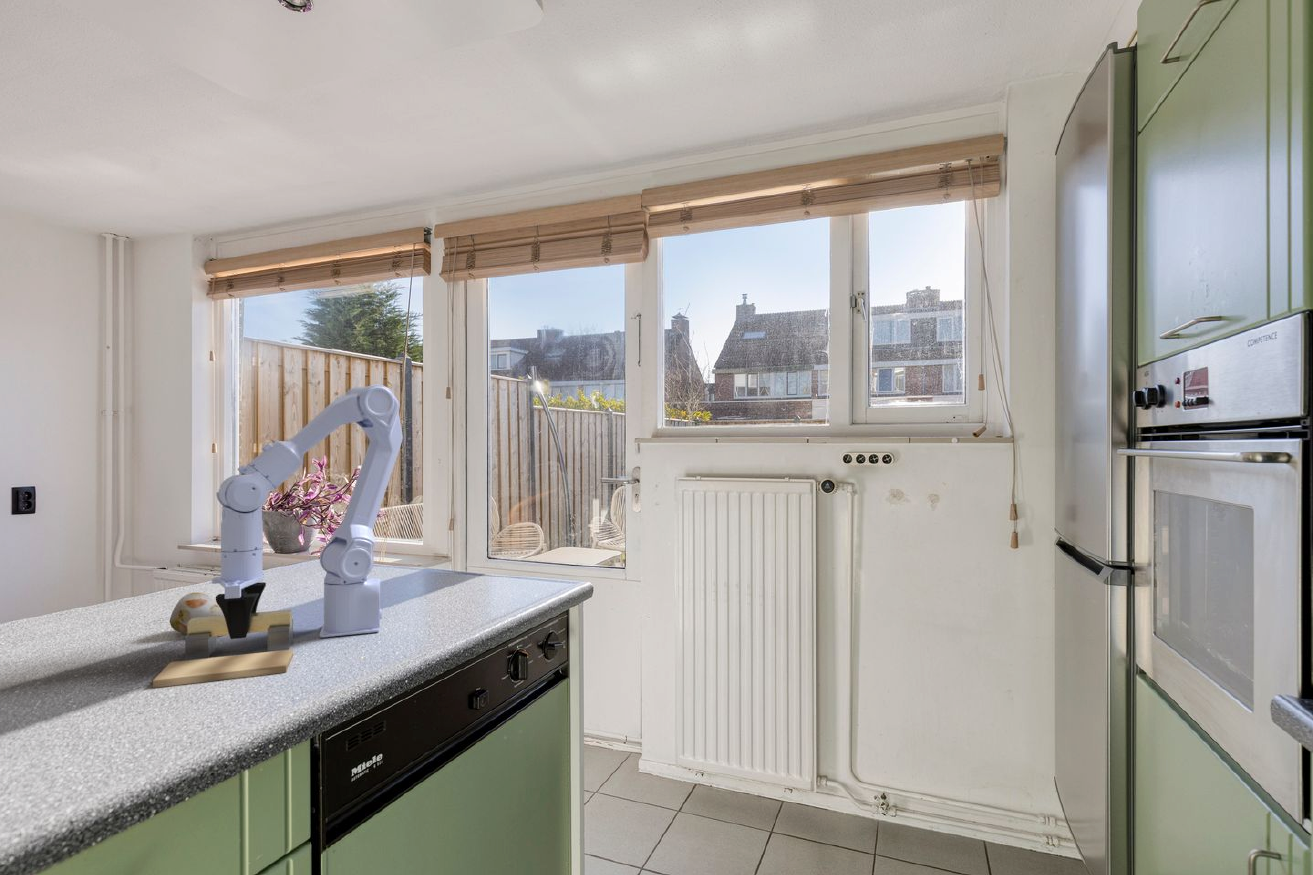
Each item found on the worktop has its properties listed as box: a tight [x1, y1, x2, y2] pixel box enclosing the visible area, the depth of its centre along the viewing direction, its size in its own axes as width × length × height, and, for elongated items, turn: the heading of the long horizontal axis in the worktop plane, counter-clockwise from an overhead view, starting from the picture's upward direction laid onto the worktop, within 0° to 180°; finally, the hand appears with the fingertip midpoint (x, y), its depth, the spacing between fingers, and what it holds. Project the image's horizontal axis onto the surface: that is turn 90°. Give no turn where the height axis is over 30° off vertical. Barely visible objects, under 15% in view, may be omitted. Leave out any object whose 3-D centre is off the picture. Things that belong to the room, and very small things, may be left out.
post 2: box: [267, 618, 294, 652], centre depth 108 cm, size 3×5×4 cm, turn 23°
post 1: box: [184, 633, 217, 661], centre depth 104 cm, size 3×5×4 cm, turn 23°
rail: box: [187, 609, 293, 637], centre depth 106 cm, size 14×3×3 cm, turn 113°
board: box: [152, 648, 294, 689], centre depth 96 cm, size 16×8×1 cm, turn 113°
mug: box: [169, 592, 224, 635], centre depth 115 cm, size 8×10×10 cm
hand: (241, 633), depth 106 cm, fingers open, 4 cm apart
